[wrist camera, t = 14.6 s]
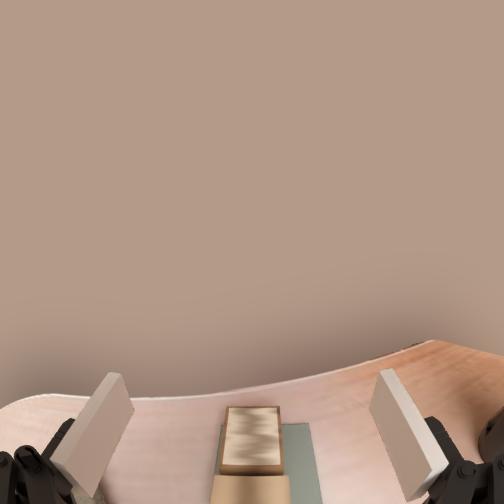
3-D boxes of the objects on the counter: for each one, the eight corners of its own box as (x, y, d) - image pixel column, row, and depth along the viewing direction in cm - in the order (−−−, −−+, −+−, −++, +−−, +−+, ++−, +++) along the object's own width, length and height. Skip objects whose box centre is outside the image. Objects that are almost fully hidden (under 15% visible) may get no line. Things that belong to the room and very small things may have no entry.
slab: (283, 476, 31) (278, 417, 44) (284, 466, 30) (279, 405, 43) (220, 476, 31) (228, 417, 44) (218, 466, 30) (226, 405, 44)
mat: (308, 425, 42) (308, 423, 42) (324, 520, 23) (325, 519, 22) (221, 426, 42) (221, 425, 42) (208, 522, 23) (207, 521, 23)
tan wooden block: (287, 484, 29) (288, 475, 29) (289, 511, 24) (291, 503, 24) (216, 484, 30) (213, 474, 29) (212, 510, 25) (209, 503, 24)
